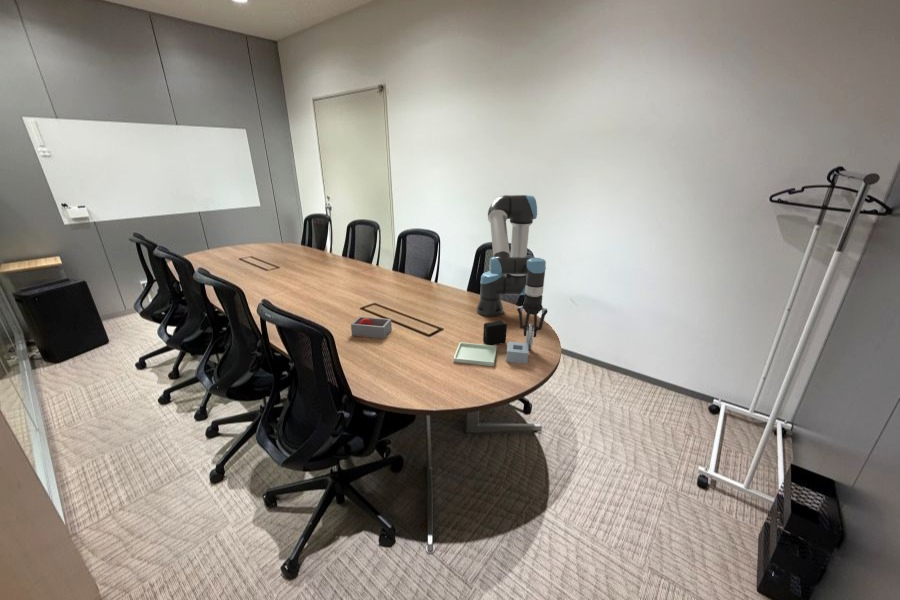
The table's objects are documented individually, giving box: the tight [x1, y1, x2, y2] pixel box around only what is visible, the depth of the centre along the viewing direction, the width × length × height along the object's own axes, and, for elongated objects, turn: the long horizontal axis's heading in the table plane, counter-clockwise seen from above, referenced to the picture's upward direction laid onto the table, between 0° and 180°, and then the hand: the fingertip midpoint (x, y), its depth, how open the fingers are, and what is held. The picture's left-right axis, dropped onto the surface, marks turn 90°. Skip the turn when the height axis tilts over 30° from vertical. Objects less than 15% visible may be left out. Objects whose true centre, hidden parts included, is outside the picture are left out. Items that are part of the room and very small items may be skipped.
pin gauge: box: [527, 323, 534, 351], centre depth 164 cm, size 2×2×12 cm
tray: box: [452, 341, 498, 367], centre depth 161 cm, size 15×17×2 cm
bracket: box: [359, 318, 372, 338], centre depth 181 cm, size 12×4×8 cm, turn 124°
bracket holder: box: [350, 316, 393, 340], centre depth 181 cm, size 10×17×6 cm, turn 78°
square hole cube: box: [505, 341, 529, 364], centre depth 159 cm, size 9×9×5 cm
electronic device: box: [482, 320, 508, 346], centre depth 171 cm, size 4×10×10 cm, turn 111°
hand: (529, 342), depth 165 cm, fingers closed on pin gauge, 2 cm apart
